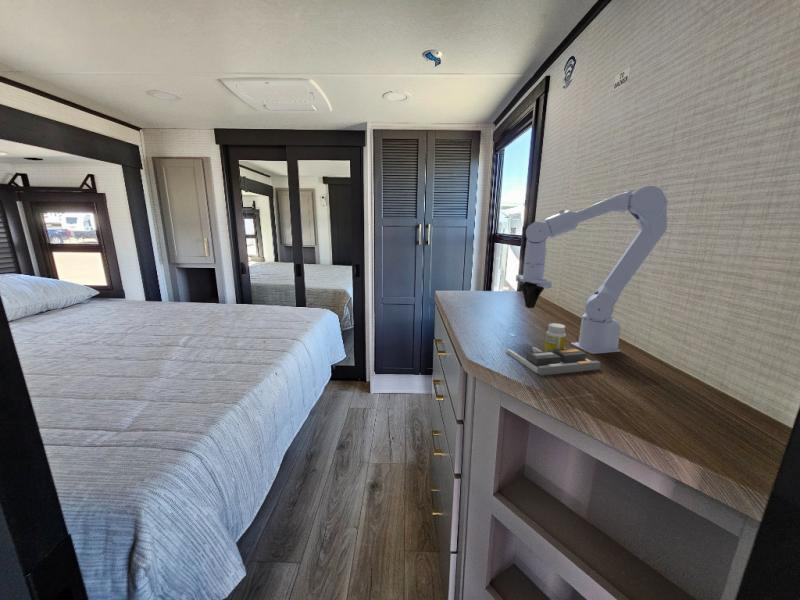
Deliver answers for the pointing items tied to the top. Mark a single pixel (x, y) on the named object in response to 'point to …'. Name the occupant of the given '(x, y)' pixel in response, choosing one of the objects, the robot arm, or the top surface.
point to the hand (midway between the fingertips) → (529, 307)
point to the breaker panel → (556, 365)
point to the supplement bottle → (555, 337)
